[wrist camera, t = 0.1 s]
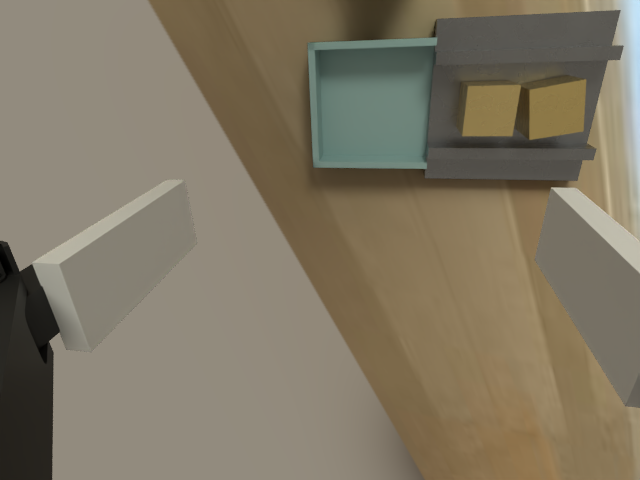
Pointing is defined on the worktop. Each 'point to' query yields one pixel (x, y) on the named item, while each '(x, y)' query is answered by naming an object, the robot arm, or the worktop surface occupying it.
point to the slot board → (520, 67)
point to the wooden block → (487, 108)
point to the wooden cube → (551, 107)
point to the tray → (370, 102)
